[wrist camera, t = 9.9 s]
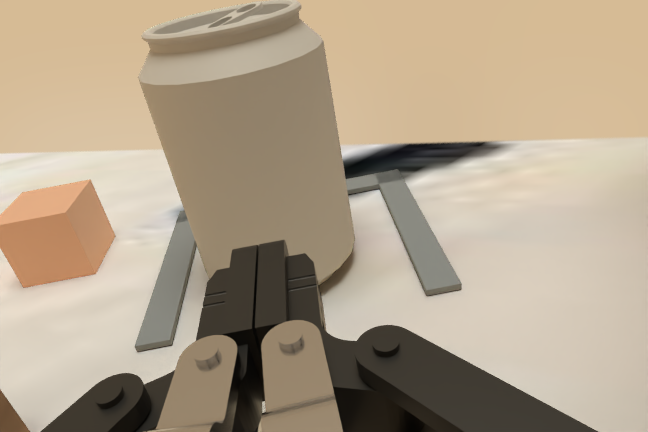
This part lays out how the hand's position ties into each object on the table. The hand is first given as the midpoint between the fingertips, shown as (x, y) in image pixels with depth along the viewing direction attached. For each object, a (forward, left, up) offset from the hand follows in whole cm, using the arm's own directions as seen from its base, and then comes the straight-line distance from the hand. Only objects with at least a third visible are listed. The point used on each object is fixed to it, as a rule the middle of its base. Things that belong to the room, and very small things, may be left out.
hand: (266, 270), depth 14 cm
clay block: (+13, -14, -6) cm, 20 cm away
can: (+1, -9, -6) cm, 11 cm away
